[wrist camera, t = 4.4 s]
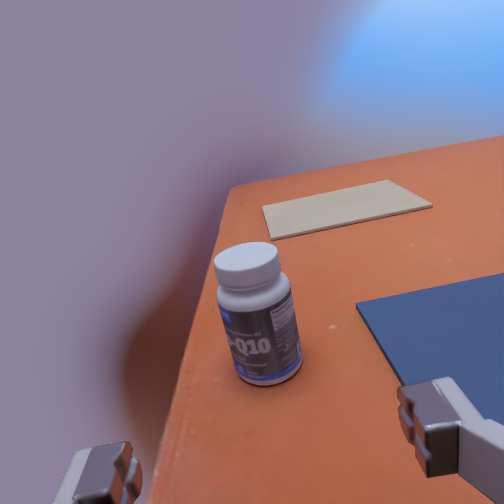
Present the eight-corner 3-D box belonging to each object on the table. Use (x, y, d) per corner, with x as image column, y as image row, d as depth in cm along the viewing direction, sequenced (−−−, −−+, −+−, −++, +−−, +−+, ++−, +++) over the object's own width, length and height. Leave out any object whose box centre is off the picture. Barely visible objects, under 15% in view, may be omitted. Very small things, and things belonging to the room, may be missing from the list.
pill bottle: (222, 375, 26) (190, 268, 23) (260, 335, 29) (237, 236, 26) (281, 397, 23) (254, 277, 20) (315, 349, 26) (297, 240, 23)
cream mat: (271, 240, 46) (271, 237, 46) (262, 208, 59) (261, 206, 59) (432, 207, 46) (432, 204, 46) (388, 181, 59) (387, 179, 58)
